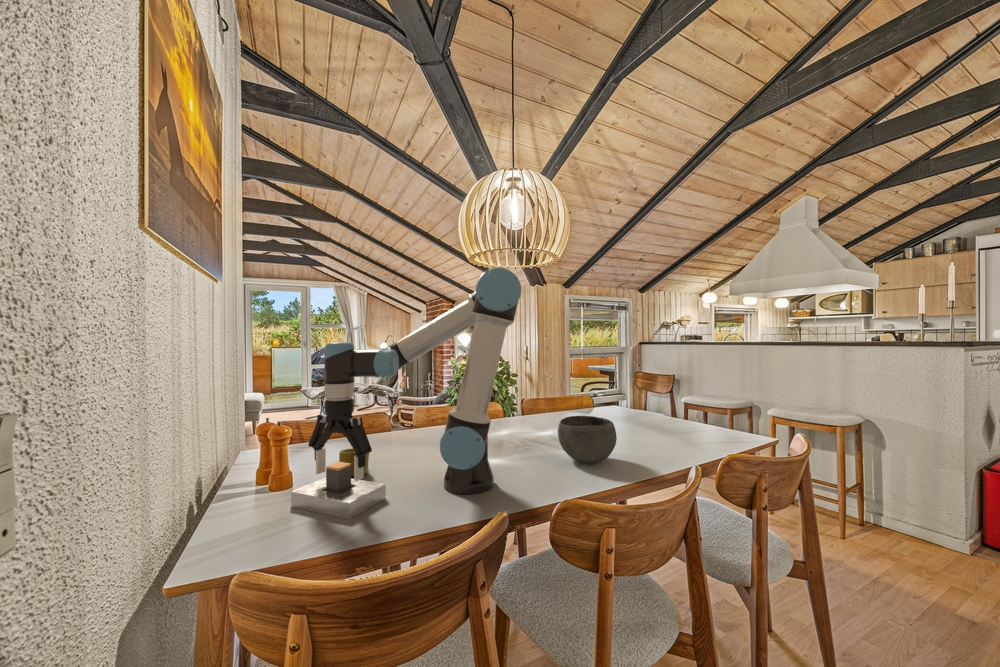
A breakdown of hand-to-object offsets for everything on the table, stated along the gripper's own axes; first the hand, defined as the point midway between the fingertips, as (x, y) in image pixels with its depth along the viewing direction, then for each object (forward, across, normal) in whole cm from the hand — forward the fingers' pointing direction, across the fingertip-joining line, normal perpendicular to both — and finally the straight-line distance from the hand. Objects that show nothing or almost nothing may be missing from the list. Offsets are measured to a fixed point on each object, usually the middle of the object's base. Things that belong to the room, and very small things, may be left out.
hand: (339, 476), depth 111 cm
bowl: (+7, -56, -62) cm, 84 cm away
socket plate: (+7, 0, 0) cm, 7 cm away
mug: (+8, +13, -21) cm, 26 cm away
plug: (+7, 0, 0) cm, 7 cm away
